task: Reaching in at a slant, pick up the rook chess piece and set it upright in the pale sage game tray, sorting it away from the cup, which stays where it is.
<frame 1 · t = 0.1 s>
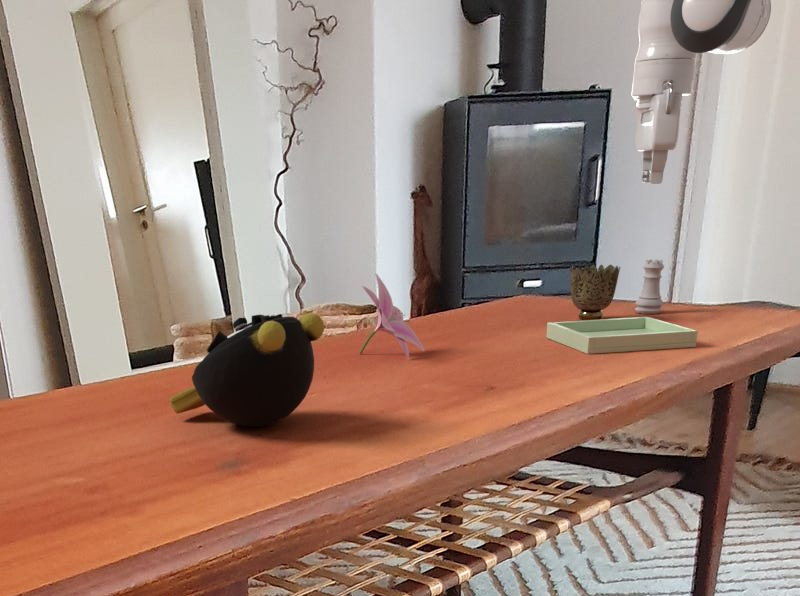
hand: (651, 183, 154), 19 cm above the table, tool pointing down, fingers open, 8 cm apart
game tray: (618, 342, 135), on the table
lily: (390, 356, 131), on the table
rook chess piece: (648, 313, 158), on the table
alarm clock: (249, 425, 99), on the table
cup: (589, 321, 153), on the table
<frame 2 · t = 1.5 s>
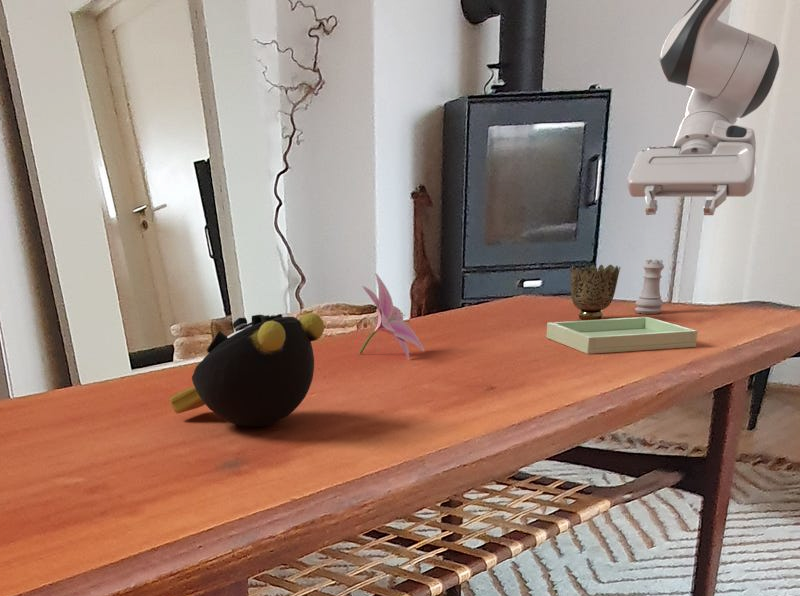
hand: (678, 212, 161), 14 cm above the table, tool tilted 45°, fingers open, 8 cm apart
nothing on the table moved.
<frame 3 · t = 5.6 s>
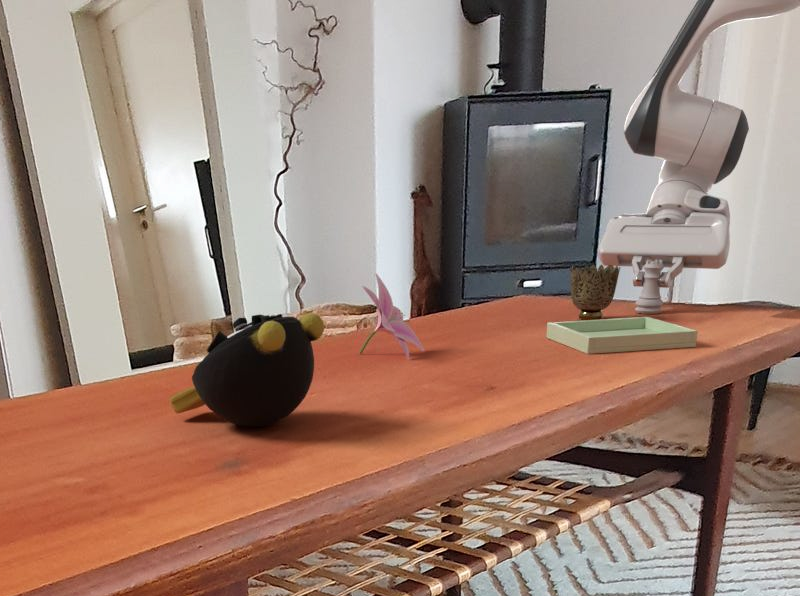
hand: (650, 284, 156), 4 cm above the table, tool tilted 45°, fingers closed on rook chess piece, 3 cm apart
rook chess piece: (648, 313, 158), on the table, touching gripper
everything else where it was.
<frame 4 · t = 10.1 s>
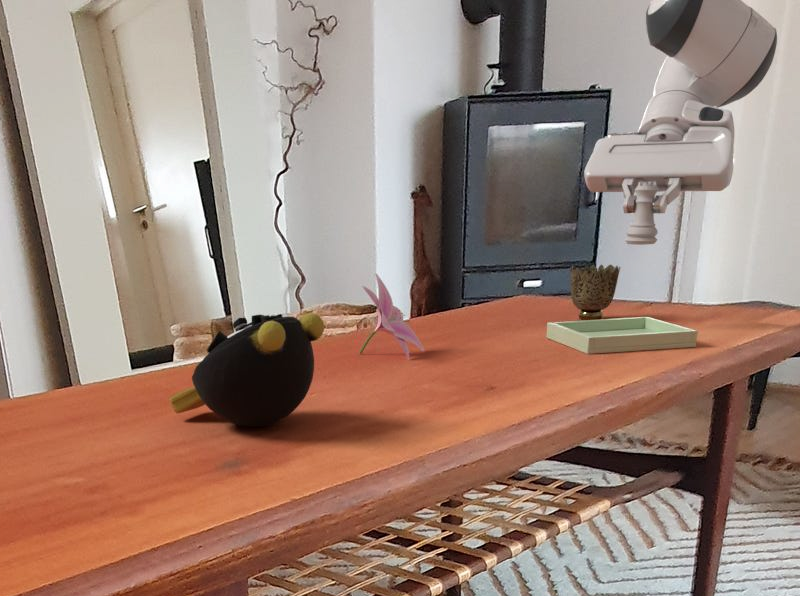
hand: (643, 210, 136), 16 cm above the table, tool tilted 45°, fingers closed on rook chess piece, 3 cm apart
rook chess piece: (640, 244, 139), point 12 cm above the table, touching gripper
everything else where it was.
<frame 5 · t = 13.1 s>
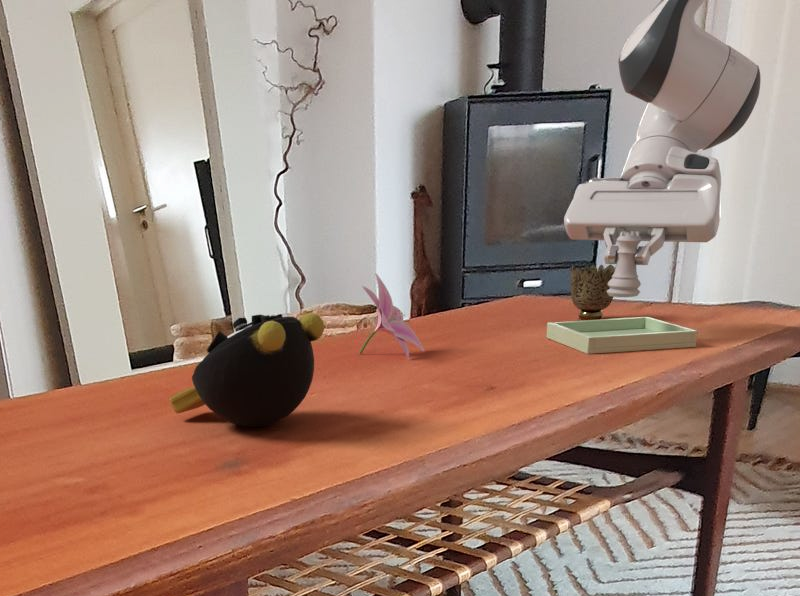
hand: (625, 261, 129), 11 cm above the table, tool tilted 45°, fingers closed on rook chess piece, 3 cm apart
rook chess piece: (622, 296, 132), point 6 cm above the table, touching gripper
everything else where it was.
when the fingers open (5 cm above the table, at t = 14.9 s): rook chess piece stays where it is, resting on game tray.
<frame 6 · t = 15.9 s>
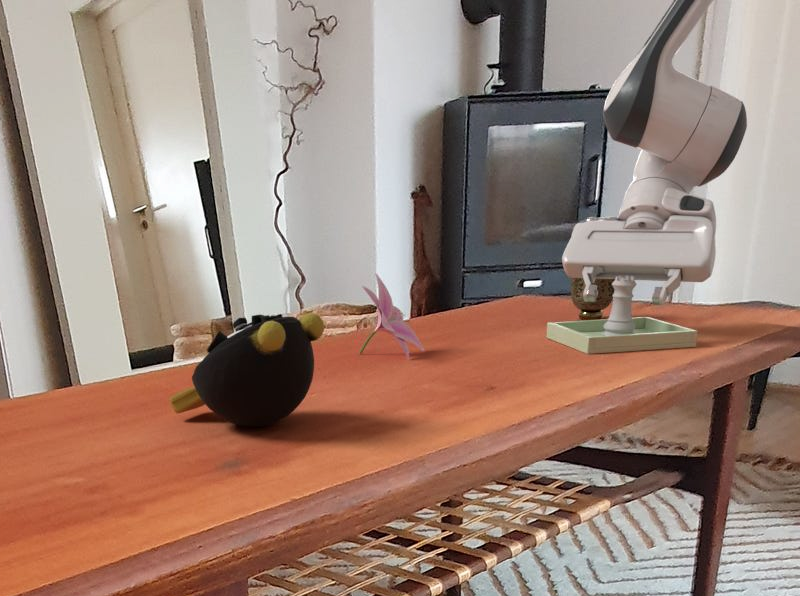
hand: (622, 300, 132), 6 cm above the table, tool tilted 45°, fingers open, 8 cm apart
rook chess piece: (618, 339, 135), resting on game tray
everything else where it was.
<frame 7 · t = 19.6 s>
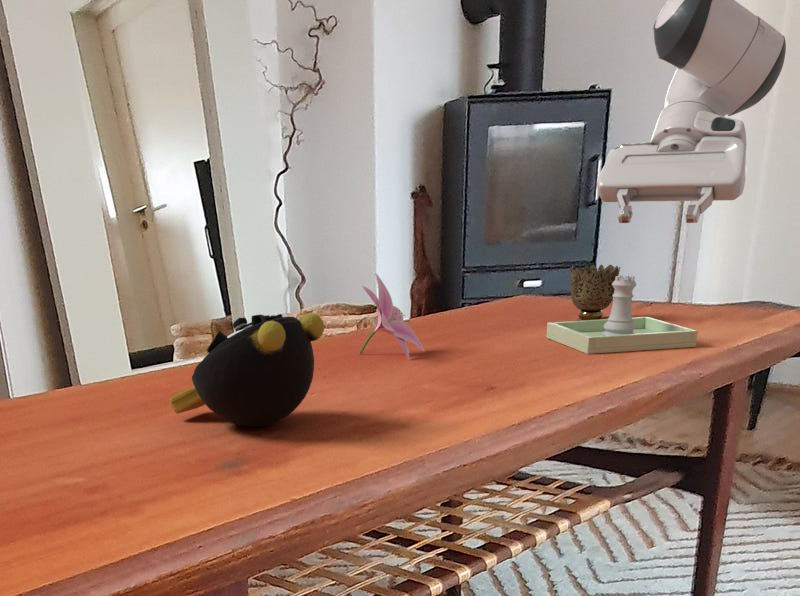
hand: (656, 220, 137), 15 cm above the table, tool tilted 45°, fingers open, 8 cm apart
nothing on the table moved.
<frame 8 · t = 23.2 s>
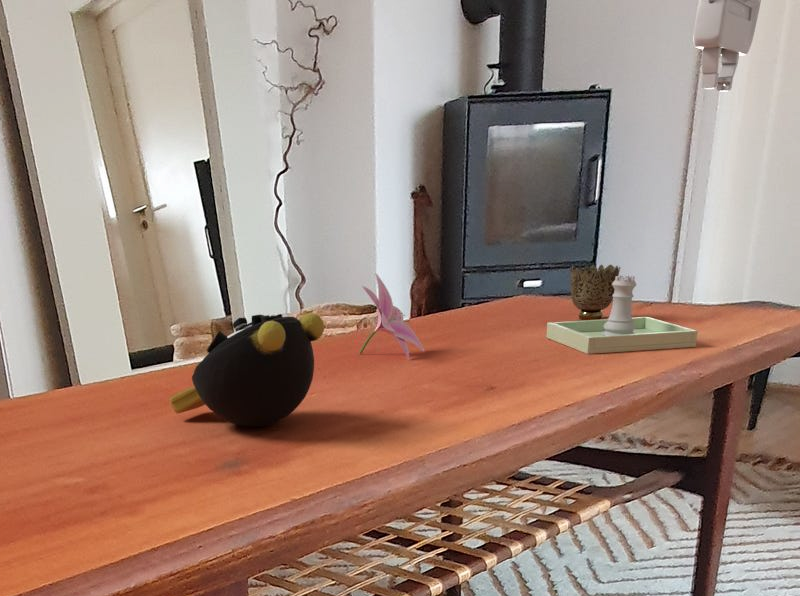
hand: (716, 90, 135), 31 cm above the table, tool pointing down, fingers open, 8 cm apart
nothing on the table moved.
at the end: rook chess piece inside the target area in the game tray (0.1 cm from its centre), point 0.4 cm above the game tray's base; rook chess piece tilted 0°; cup moved 0.2 cm from its start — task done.
